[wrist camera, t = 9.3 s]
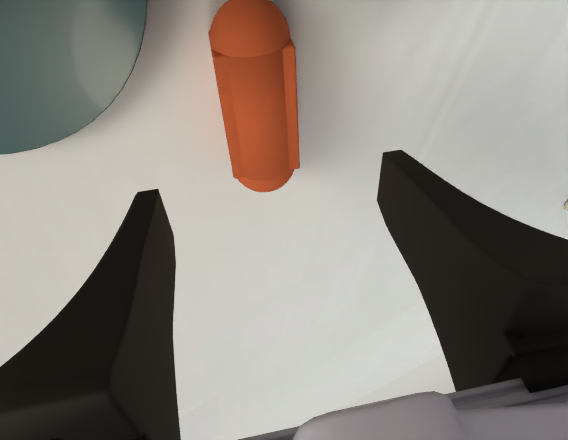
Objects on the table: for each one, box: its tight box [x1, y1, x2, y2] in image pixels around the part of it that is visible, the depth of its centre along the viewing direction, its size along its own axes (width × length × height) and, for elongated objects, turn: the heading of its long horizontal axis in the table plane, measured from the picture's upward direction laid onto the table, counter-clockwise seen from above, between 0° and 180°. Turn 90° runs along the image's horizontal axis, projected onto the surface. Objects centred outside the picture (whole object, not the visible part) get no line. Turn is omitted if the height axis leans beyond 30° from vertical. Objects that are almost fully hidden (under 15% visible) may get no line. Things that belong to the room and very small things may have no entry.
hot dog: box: [209, 0, 300, 192], centre depth 18 cm, size 9×3×3 cm, turn 3°
